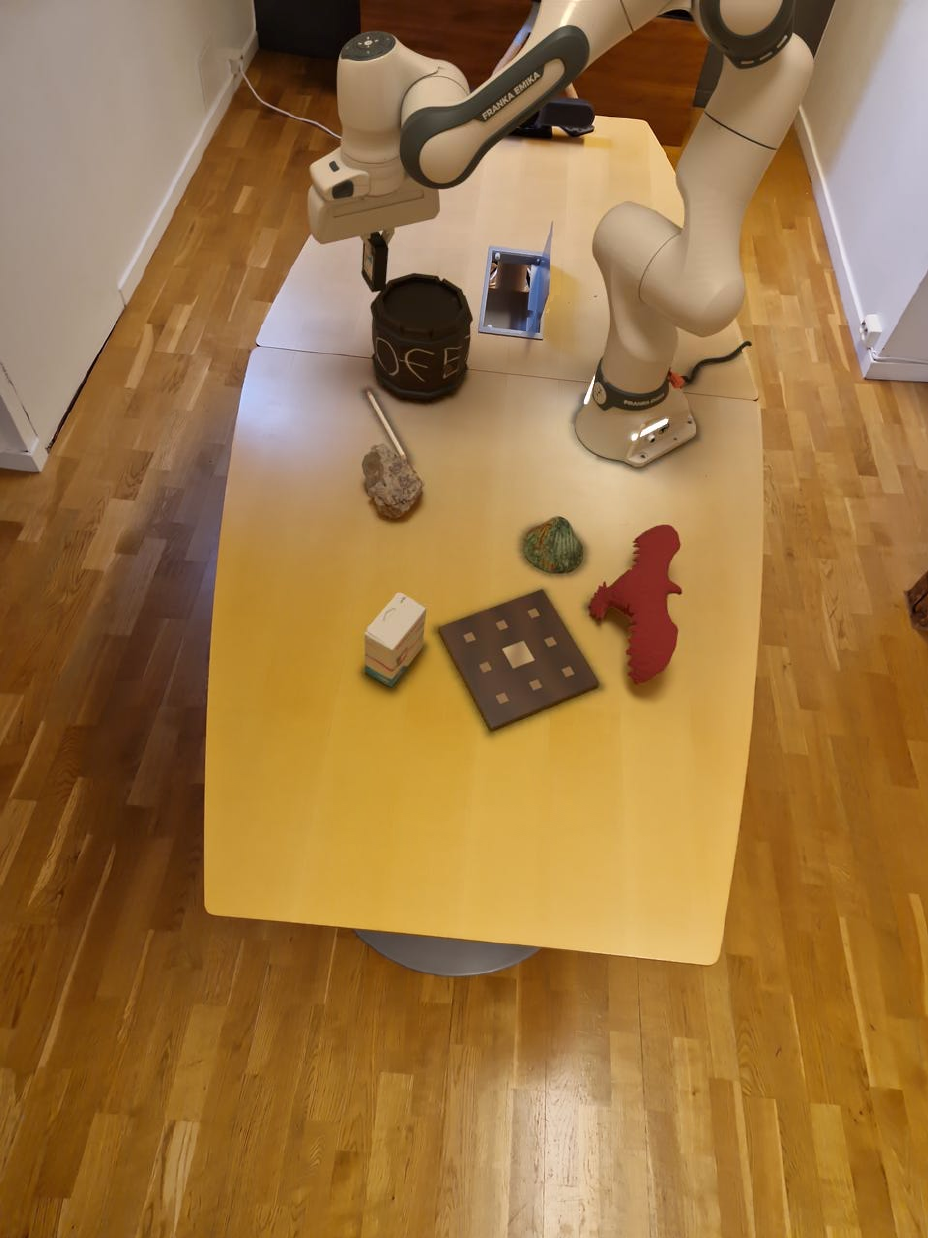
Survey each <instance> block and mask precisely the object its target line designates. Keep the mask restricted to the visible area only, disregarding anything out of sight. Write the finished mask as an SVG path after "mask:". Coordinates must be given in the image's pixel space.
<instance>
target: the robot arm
mask: <svg viewBox="0 0 928 1238" xmlns="http://www.w3.org/2000/svg"><path fill="white" fill-rule="evenodd" d="M796 1H797V0H541V1H540V4H539V9H538V13H537V16H536V18H535V22H534V25H533V26H532V30H531V32H530V34H529V36H528V38H527V40H526V42H525V43H524V45H523V47H522V48H521V49H520V51H519V52H518V53H517V54H516V55H515V56H514V57H513V58H512V59H511V61H509V62H508V63H507V64H505V65H504V66H502V68H501V69H499V70H498V71H497V72H495V73H494V74H493V75H492V76H490V78H488V79H487V80H486V81H485V82H483V83H482V84H480V86H479V87H477V88H476V89H474V90H473V91H472V92H471V89H470V84H469V82H468V80H467V77H466V76H465V74H464V72H463V71H462V70H461V69H460V68H459V67H458V66H457V65H455V64H454V63H453V62H450V61H448V60H445V59H442V58H431V57H427V56H424V55H423V54H419V53H417V52H415V51H413V50H411V49H410V48H408V47H407V46H405V45H404V44H403V43H402V42H400V40H399V39H397V37H396V36H395V35H393V34H392V33H389V32H386V31H382V30H381V31H380V30H372V31H365V32H362V33H360V34H357V35H356V36H354V37H352V38H350V40H349V41H347V42H346V43H345V44H344V46H343V47H342V49H341V51H340V54H339V57H338V61H337V69H336V97H337V98H336V99H337V113H338V118H339V121H340V123H341V127H342V129H341V130H342V132H341V137H340V146H338V147H337V148H336V149H334V150H333V151H331V152H330V153H328V154H326V155H325V156H323V157H320V158H319V159H317V160H316V161H314V162H312V163H311V164H310V165H309V175H310V178H311V180H312V184H311V185H310V187H309V189H308V193H307V203H306V204H307V207H306V208H307V209H306V210H307V224H308V229H309V231H310V234H311V236H312V238H313V239H314V240H315V241H316V242H317V243H319V245H327V244H330V243H335V242H339V241H344V240H348V239H352V238H358V237H359V238H360V239H361V241H362V243H363V242H364V243H365V250H366V254H367V255H368V257H371V248H372V245H371V244H370V242H369V241H368V239H370V238H371V233H374V232H379V233H380V232H381V233H380V234H381V236H382V238H383V240H385V242H386V244H387V246H388V247H389V244H390V243H391V241H392V238H393V237H394V235H395V230H396V229H395V228H400V227H404V226H409V225H413V224H418V223H422V222H426V221H430V220H435V219H436V218H437V216H438V215H439V213H440V210H441V202H440V200H441V199H440V191H439V190H448V189H449V190H450V189H452V188H455V187H457V186H459V185H461V184H462V183H464V182H465V181H467V179H468V178H470V177H471V176H472V174H473V173H474V172H475V170H476V169H477V167H478V166H479V164H480V163H481V162H482V160H483V159H484V157H485V156H486V155H487V154H488V152H489V151H491V149H492V148H493V147H494V146H496V145H497V144H499V143H500V142H501V141H502V140H503V139H505V138H506V137H507V136H508V135H509V134H511V133H512V132H513V131H515V130H516V129H518V128H519V127H520V126H521V125H522V124H524V123H525V122H526V121H528V119H530V118H531V117H533V116H534V115H536V113H537V112H539V111H540V110H542V109H543V108H544V107H545V106H546V105H548V104H549V103H550V102H551V101H553V100H554V99H555V98H556V97H558V96H559V95H560V94H561V93H563V92H564V91H565V90H566V89H567V88H568V87H569V86H570V85H571V84H572V83H573V82H574V81H575V80H577V78H578V77H579V76H580V75H582V73H583V72H584V71H585V70H586V69H587V68H588V67H589V66H590V65H592V64H593V63H594V62H595V61H596V60H597V59H598V58H599V57H601V56H602V55H603V54H605V53H606V52H607V51H609V50H611V48H613V47H614V46H615V45H617V44H619V43H620V42H621V41H623V40H624V39H626V38H627V37H628V36H630V35H631V34H633V32H636V31H637V30H639V29H640V28H642V27H643V26H645V25H646V24H648V23H649V22H651V20H653V19H654V18H657V17H658V16H660V15H663V14H664V13H665V14H666V13H667V12H670V11H673V10H674V11H675V10H684V11H686V12H687V13H688V15H689V16H690V18H691V19H692V21H693V22H694V23H695V25H696V27H697V29H698V31H699V32H700V33H701V36H703V37H704V38H705V39H706V40H707V41H709V42H710V43H712V44H713V45H714V46H715V47H716V48H717V49H719V51H720V52H721V53H723V63H722V68H721V72H720V76H719V79H718V81H717V85H716V87H715V89H714V91H713V93H712V94H711V96H710V97H709V100H708V102H707V104H706V106H705V108H704V110H703V112H702V113H701V116H700V118H699V120H698V121H697V123H696V125H695V127H694V130H693V131H692V133H691V135H690V137H689V140H688V141H687V143H686V145H685V147H684V149H683V151H682V153H681V155H680V158H679V159H678V161H677V164H676V168H675V185H676V188H677V190H678V192H679V195H680V198H681V200H682V203H683V210H684V211H683V212H684V213H683V214H684V218H683V225H682V227H681V226H679V225H677V224H676V223H675V222H674V221H672V220H671V219H669V218H668V217H666V216H665V215H663V214H662V213H660V212H659V211H658V210H657V209H653V208H651V207H648V206H645V205H642V204H640V203H638V202H637V203H636V202H635V201H630V200H628V201H622V202H621V203H618V204H617V205H615V206H613V207H611V208H610V209H609V210H608V211H607V212H606V213H605V214H604V215H603V216H602V217H601V219H600V221H599V222H598V223H597V225H596V228H595V230H594V233H593V236H592V237H593V238H592V242H591V252H592V256H593V258H594V260H595V263H596V265H597V267H598V268H599V270H600V273H601V276H602V279H603V282H604V287H605V290H606V291H605V292H606V294H607V295H606V296H607V302H608V311H609V312H608V313H609V326H608V334H607V338H606V343H605V346H604V351H603V355H601V357H600V359H599V361H598V364H597V366H596V370H595V373H594V376H593V379H592V381H591V384H590V386H589V388H588V391H587V392H586V394H585V397H584V400H583V405H582V408H581V409H580V411H579V413H578V415H577V416H576V417H575V418H576V419H575V421H574V422H575V423H574V428H575V429H574V430H575V434H576V435H577V438H578V439H579V441H580V442H581V444H582V445H584V447H586V449H588V450H589V451H591V452H592V453H594V454H596V455H597V456H600V457H603V458H606V459H610V460H615V461H621V462H623V463H626V464H628V465H629V466H632V467H635V468H642V467H644V466H646V465H648V464H649V463H651V462H653V461H654V460H656V459H658V458H660V457H662V456H664V455H665V454H667V453H669V452H670V451H672V450H674V449H676V448H677V447H679V446H681V445H683V444H685V443H687V442H688V441H689V440H692V439H693V438H695V437H696V433H697V425H696V422H695V419H694V417H693V415H692V413H691V412H690V405H689V404H690V403H689V401H688V399H687V397H686V395H685V392H683V390H682V387H683V385H684V383H686V384H692V383H693V381H694V380H695V378H696V376H697V373H698V370H699V369H700V368H701V367H702V366H704V365H706V364H713V363H722V362H727V361H729V360H731V359H733V358H734V357H735V356H737V355H738V354H739V353H740V352H742V351H743V350H744V349H745V348H746V347H752V346H753V344H752V342H751V341H749V340H746V341H744V342H743V343H741V344H740V346H739V345H738V347H737V348H736V349H734V350H733V351H732V352H731V353H729V354H727V355H725V356H720V357H709V358H704V359H702V360H700V361H699V362H697V364H695V365H694V367H693V369H692V371H691V373H690V376H687V375H680V374H679V373H678V372H673V371H672V367H671V365H672V363H673V360H674V357H675V354H676V351H677V349H678V345H679V332H678V329H680V330H683V331H685V332H686V333H688V334H692V335H695V336H696V337H699V338H707V337H711V336H714V335H717V334H719V333H721V332H722V331H723V330H725V329H726V328H727V327H729V326H730V325H731V324H733V322H734V321H735V319H736V318H737V316H738V315H739V314H740V312H741V309H742V307H743V304H744V301H745V297H746V281H745V278H744V275H743V271H742V267H741V257H740V244H741V236H742V228H743V223H744V219H745V216H746V213H747V210H748V207H749V206H750V203H751V201H752V200H753V199H752V198H753V197H754V194H755V193H756V190H757V188H758V187H759V185H760V183H761V180H762V179H763V176H764V175H765V173H766V171H767V170H768V168H769V166H770V164H771V163H772V161H773V159H774V157H775V155H776V153H777V152H778V149H779V148H780V147H781V145H782V143H783V141H784V139H785V137H786V135H787V134H788V132H789V130H790V127H791V125H792V123H793V122H794V120H795V117H796V115H797V113H798V111H799V109H800V107H801V104H802V101H803V99H804V97H805V94H806V92H807V89H808V87H809V83H810V82H811V79H812V75H813V72H814V68H815V67H814V65H815V63H814V57H813V54H812V51H811V49H810V47H809V46H808V45H807V43H806V42H805V41H804V39H803V38H802V37H800V36H799V35H797V34H796V33H794V24H795V13H796V12H795V10H796ZM677 328H678V329H677Z"/></svg>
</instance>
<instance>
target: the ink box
mask: <svg viewBox="0 0 928 1238" xmlns="http://www.w3.org/2000/svg"><path fill="white" fill-rule="evenodd" d="M426 616H427V606H425V605H423V604H421V603H420V602H418V601H416V600H414V599H412V598H411V597H410V596H408V595H406V594H405V593H403V592H400V591H399V592H397V593H395V594H394V596H393V597H392V598H391V599H390V600H389V602H388V603H387V604H386V605H385V606H384V607H383V609H382V610H381V611H380V612H379V614H378V615H377V616H376V617H375V618H374V620H373V621H372V622H371V623H370V624H369V625H368V626H367V627H366V631H365V632H364V672H365V673H366V674H367V675H368V676H370V677H372V678H374V679H375V680H377V681H379V682H381V683H382V684H384V685H385V686H388V687H390V688H392V687H393V686H394V685H395V684H396V682H397V681H398V680H399V678H400V677H401V676H402V675H403V673H404V672H405V670H406V669H407V668H408V667H409V665H410V664H411V663H412V661H414V659H415V658H416V657H417V655H418V654H419V652H421V650H422V649H423V647H424V646H423V644H424V635H425V624H426V618H427V617H426Z"/></svg>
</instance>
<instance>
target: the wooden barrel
mask: <svg viewBox="0 0 928 1238" xmlns="http://www.w3.org/2000/svg"><path fill="white" fill-rule="evenodd" d="M369 309H370V313H371V316H372V321H371V339H372V340H371V341H372V346H373V354H372V355H371V360H372V364H373V369H374V373H375V376H376V377H375V378H376V380H377V382H379V383H380V384H381V385H382V387H384V389H386V390H388V391H389V392H390V393H392V394H393V395H395V396H396V397H398V398H399V399H400V400H403V401H411V402H412V401H413V402H421V403H427V404H428V403H432V402H434V401H436V400H439V399H442V398H445V397H447V396H450V395H452V394H453V392H454V391H456V390H457V387H459V385H460V383H461V382H462V380H463V379H464V377H465V375H466V374H467V372H468V370H469V366H468V358H469V354H470V349H471V348H470V347H471V339H472V338H471V335H472V334H471V324H472V323H473V321H474V318H473V314H472V311H471V308H470V306H469V301H468V299H467V296H466V295H465V294H464V291H463V289H462V288H460V287H459V286H457V285H455V284H454V283H453V282H451V281H450V280H448V279H447V278H445V277H443V278H442V279H440V277H439V275H433V274H426V273H417V272H412V273H409V274H405V275H402V276H399V277H396V278H392V279H389V280H388V281H386V289H385V290H384V291H379V292H378V294H377V295H376V297H375V298H374V300H373V301H372V302H371V303H370V307H369Z"/></svg>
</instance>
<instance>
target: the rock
mask: <svg viewBox="0 0 928 1238" xmlns="http://www.w3.org/2000/svg"><path fill="white" fill-rule="evenodd" d="M361 469H362V474H363V475H364V477H365V485H366V489H367V491H368V492H367V495H368V496H369V498H372V499H373V500H374V503H375V504H376V509H377V512H378V513H379V514H380V515H382V516H385V517H389V518H390V519H391V518H393V519H397V518H401V517H402V516H403V515H404V513H406V512H408V511H409V510H410V509H411V507H412V506H413V505H414V504H416V502H417V500H418V499H419V497H420V496H421V495H422V494H423V488H424V487H425V485H426V483H425V481H424V480H422V479H421V478H420V477H419V475H418V474H417V470H415V469H414V468H413V465H412V464H411V463H409V460H408V458H407V456H406V457H404V456H401V455H400V454H399V453H396V452H395V450H393V449H391V448H390V447H389V446H388V445H387V444H385V443H383V442H382V443H380V444H373V445H371V447H370V451H369V452H367V453H366V454H365V455H364V456H363V460H362V462H361Z"/></svg>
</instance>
